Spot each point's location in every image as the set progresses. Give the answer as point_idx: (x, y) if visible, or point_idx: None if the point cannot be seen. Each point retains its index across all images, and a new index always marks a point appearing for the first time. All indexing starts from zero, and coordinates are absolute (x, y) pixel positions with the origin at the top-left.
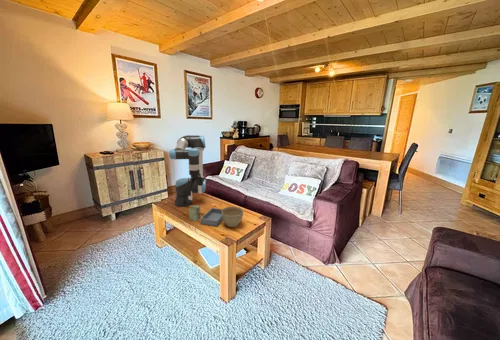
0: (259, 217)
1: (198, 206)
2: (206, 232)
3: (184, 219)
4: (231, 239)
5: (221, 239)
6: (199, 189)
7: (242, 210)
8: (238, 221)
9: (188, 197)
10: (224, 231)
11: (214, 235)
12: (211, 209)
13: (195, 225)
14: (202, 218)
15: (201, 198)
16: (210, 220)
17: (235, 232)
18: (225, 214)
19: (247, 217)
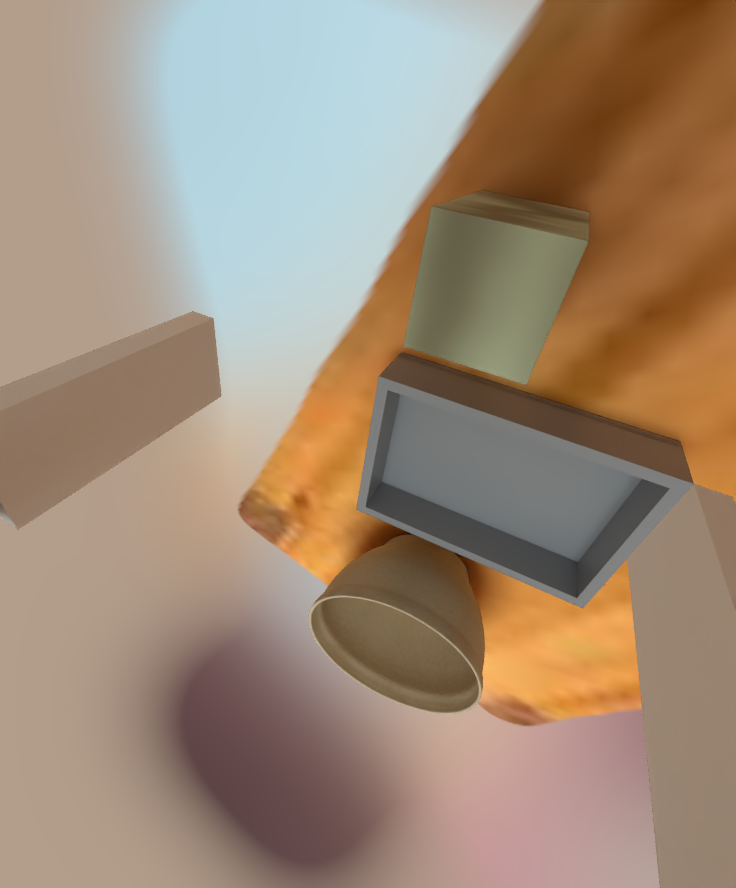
0: (526, 705)
1: (505, 366)
2: (295, 415)
3: (489, 99)
4: (277, 532)
5: (262, 493)
6: (687, 654)
7: (422, 705)
8: (366, 620)
9: (148, 329)
10: (333, 513)
11: (281, 462)
12: (632, 473)
13: (366, 310)
14: (379, 397)
15: None
16: (364, 463)
17: (337, 560)
18: (447, 583)
19: (528, 660)
